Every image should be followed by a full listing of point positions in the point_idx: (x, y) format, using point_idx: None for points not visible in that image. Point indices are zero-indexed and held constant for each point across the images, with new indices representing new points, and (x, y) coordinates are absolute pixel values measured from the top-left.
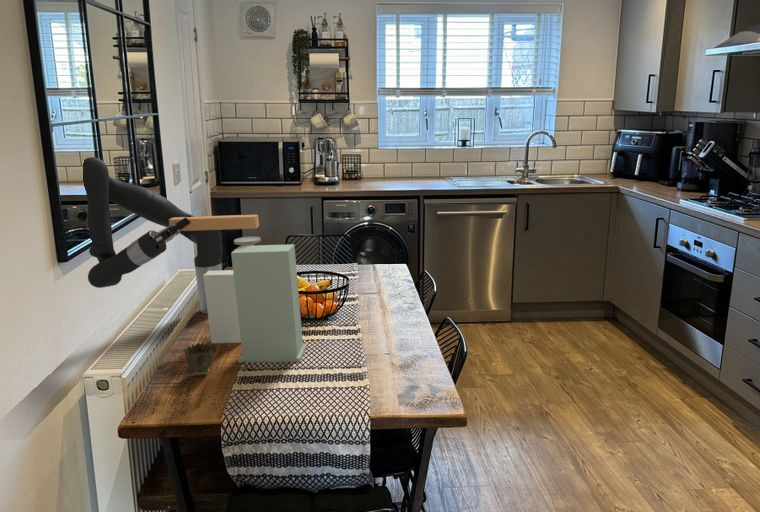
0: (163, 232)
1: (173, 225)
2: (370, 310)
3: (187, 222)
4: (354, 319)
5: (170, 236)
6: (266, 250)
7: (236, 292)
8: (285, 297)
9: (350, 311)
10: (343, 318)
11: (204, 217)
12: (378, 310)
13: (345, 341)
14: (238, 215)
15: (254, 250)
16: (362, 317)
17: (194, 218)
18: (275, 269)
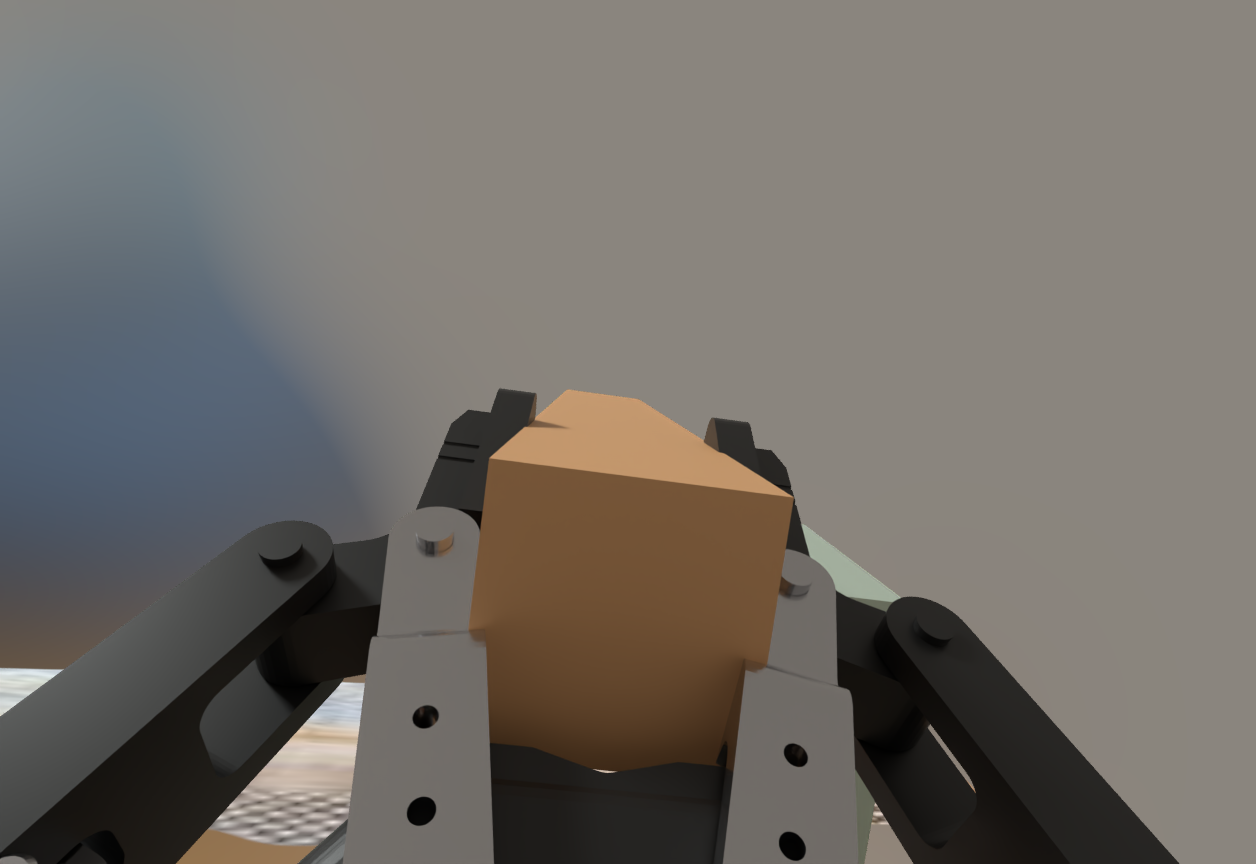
0: (1087, 797)
1: (827, 590)
2: (272, 762)
3: None
4: (348, 802)
5: (917, 825)
6: (811, 546)
7: (865, 836)
8: None
9: (240, 809)
10: (316, 830)
11: (618, 416)
12: (287, 746)
13: None
14: (574, 395)
15: (823, 561)
16: (338, 783)
17: (668, 431)
18: None
